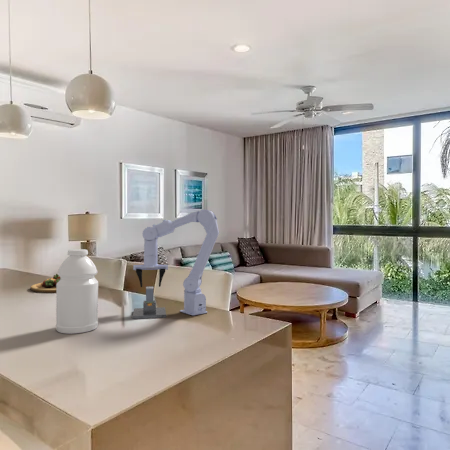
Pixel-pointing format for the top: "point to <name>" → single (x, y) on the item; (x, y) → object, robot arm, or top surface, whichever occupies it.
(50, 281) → the wooden plate with food
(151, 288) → the column
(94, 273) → the bottle
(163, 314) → the stand base
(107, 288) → the top surface
